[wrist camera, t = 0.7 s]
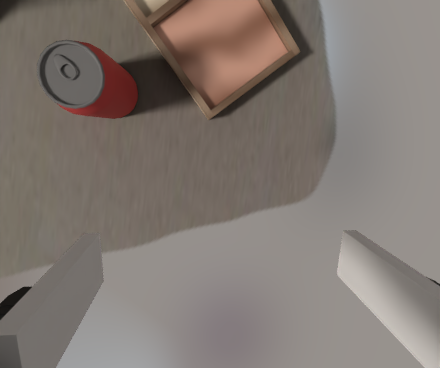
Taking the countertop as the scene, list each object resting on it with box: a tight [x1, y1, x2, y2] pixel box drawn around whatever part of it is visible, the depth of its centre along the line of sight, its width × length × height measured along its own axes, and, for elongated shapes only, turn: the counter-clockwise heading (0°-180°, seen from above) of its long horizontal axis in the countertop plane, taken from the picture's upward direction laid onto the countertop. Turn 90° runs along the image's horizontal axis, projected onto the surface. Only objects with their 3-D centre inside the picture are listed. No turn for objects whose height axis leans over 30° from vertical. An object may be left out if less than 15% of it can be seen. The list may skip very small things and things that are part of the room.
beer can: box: [37, 40, 138, 119], centre depth 28 cm, size 7×7×12 cm
